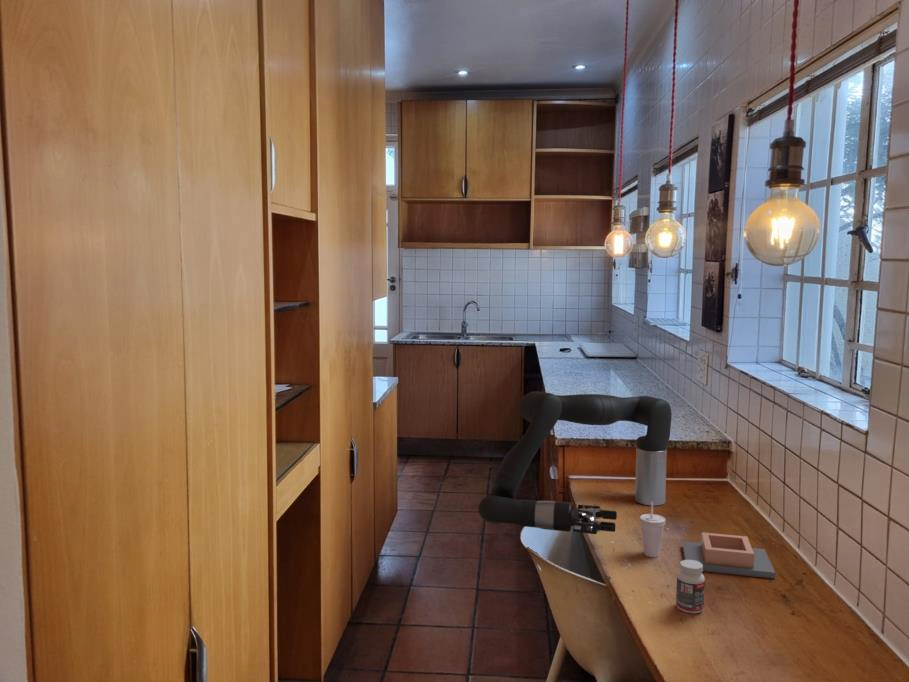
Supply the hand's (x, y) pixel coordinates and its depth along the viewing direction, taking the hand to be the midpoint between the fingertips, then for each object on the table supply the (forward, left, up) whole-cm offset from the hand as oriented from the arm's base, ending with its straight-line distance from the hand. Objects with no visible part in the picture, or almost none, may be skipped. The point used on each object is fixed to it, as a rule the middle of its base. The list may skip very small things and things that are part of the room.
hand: (616, 521), depth 176 cm
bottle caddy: (-5, +27, -8) cm, 28 cm away
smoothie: (-2, +9, -8) cm, 12 cm away
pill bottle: (+23, +21, -8) cm, 32 cm away
